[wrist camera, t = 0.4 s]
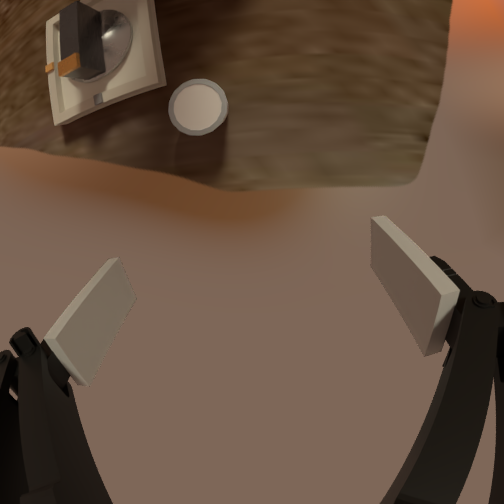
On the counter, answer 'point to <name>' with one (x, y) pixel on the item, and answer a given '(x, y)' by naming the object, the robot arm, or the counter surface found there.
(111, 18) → the dial
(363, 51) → the counter surface
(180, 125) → the shot glass
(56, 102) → the housing
